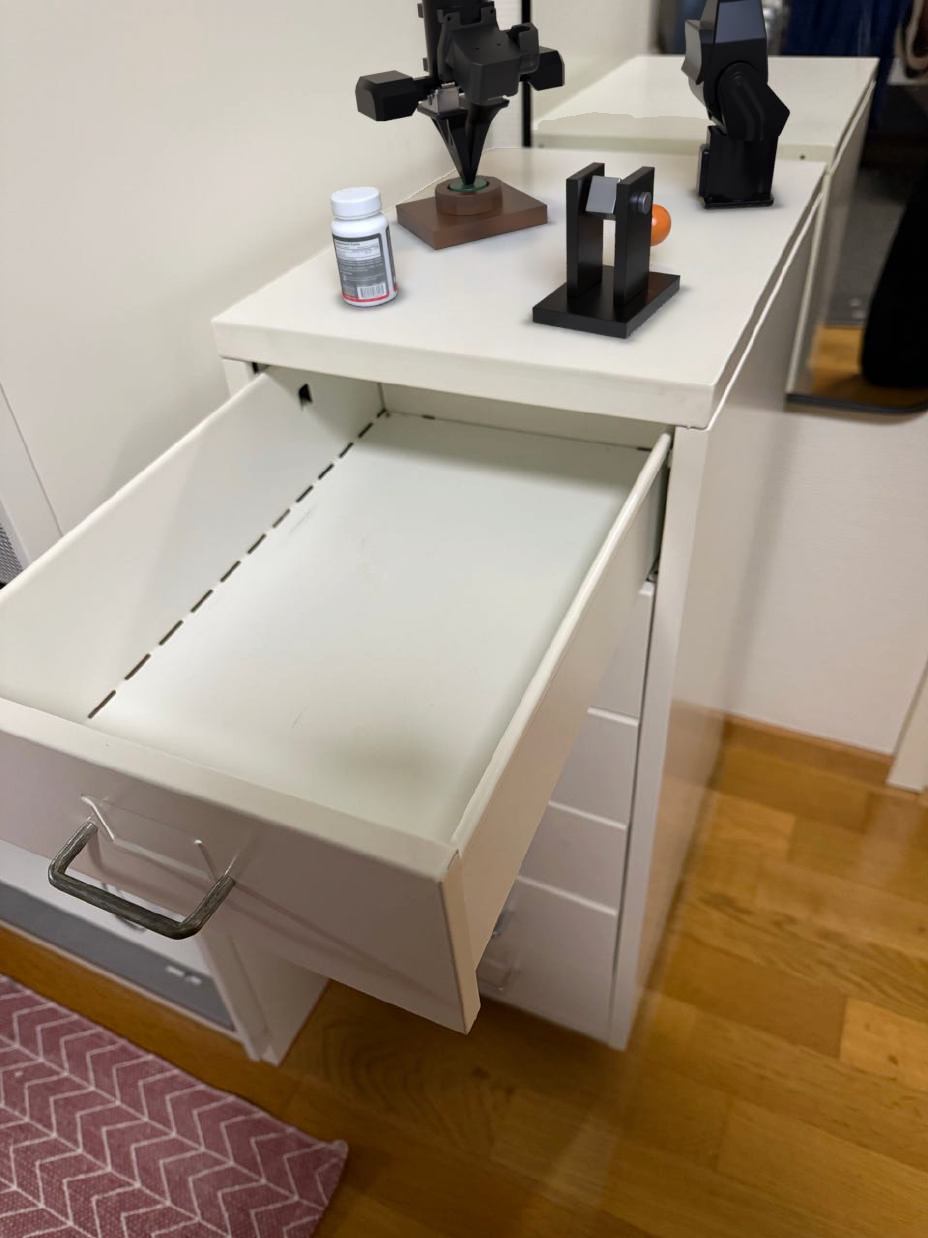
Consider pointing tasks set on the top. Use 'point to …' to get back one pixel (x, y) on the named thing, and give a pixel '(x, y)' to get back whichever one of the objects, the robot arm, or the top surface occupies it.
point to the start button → (468, 186)
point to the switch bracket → (606, 291)
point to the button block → (470, 213)
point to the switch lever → (605, 207)
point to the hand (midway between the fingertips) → (468, 183)
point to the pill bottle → (363, 247)
